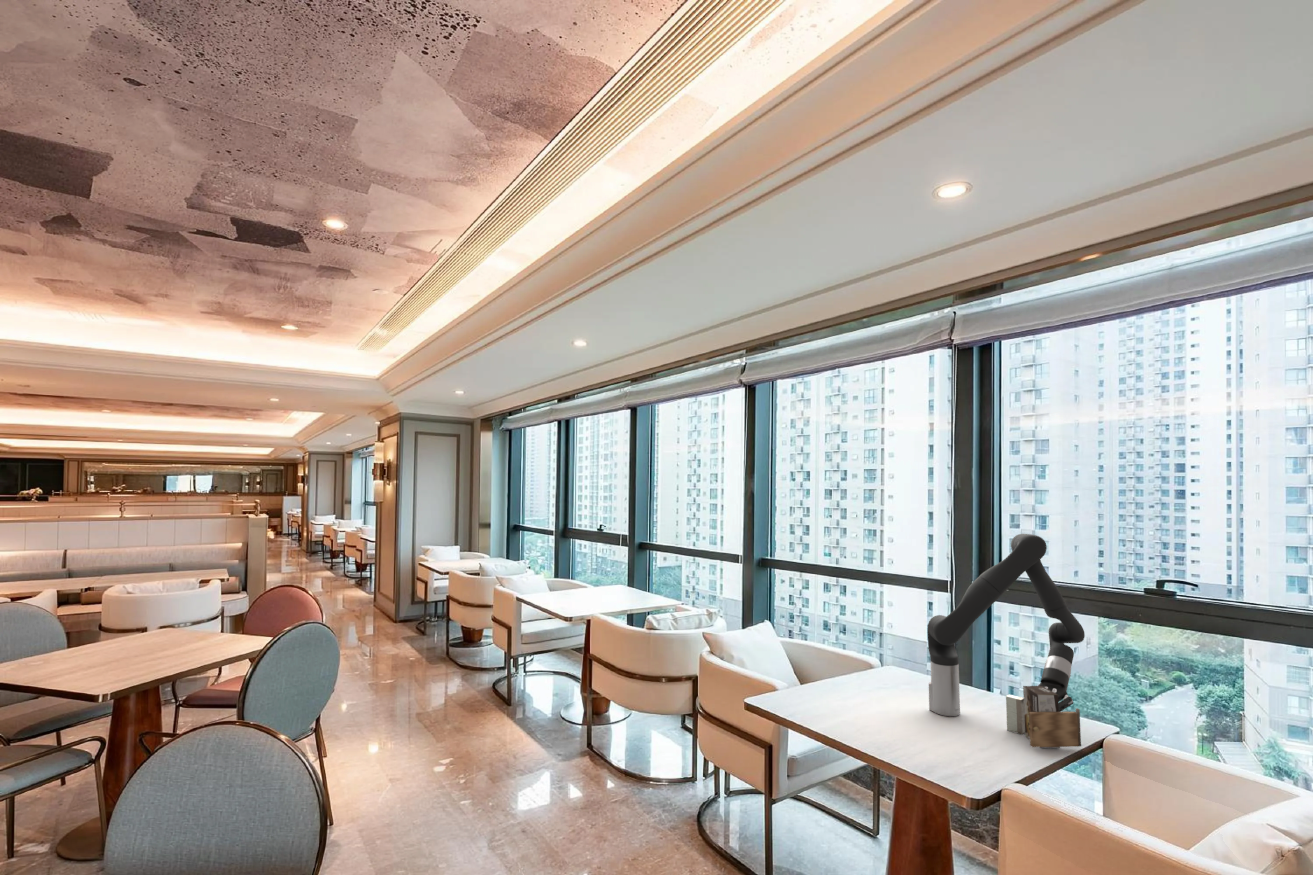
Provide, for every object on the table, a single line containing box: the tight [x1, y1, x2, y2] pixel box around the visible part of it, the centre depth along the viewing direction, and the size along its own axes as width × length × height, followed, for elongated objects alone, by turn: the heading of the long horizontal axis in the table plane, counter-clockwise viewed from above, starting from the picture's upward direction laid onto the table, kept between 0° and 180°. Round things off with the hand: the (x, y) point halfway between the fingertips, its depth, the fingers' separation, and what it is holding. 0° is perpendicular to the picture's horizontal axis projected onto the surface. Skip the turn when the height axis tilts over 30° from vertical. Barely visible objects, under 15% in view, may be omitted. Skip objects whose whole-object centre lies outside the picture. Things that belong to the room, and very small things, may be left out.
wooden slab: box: [1029, 707, 1082, 748], centre depth 194 cm, size 16×2×11 cm, turn 92°
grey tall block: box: [1005, 694, 1025, 736], centre depth 208 cm, size 5×3×11 cm, turn 41°
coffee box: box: [1022, 685, 1061, 749], centre depth 199 cm, size 9×6×16 cm
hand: (1045, 719), depth 204 cm, fingers closed
